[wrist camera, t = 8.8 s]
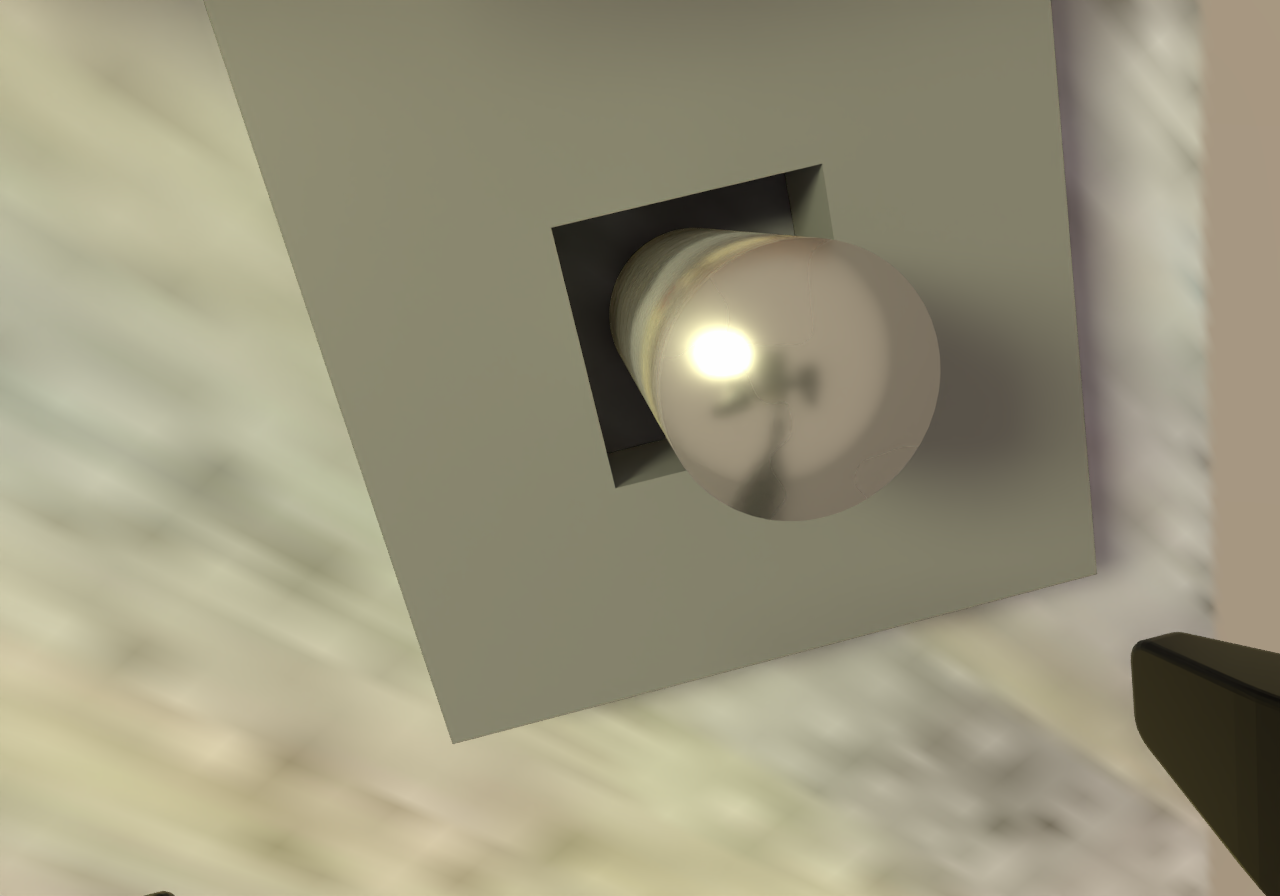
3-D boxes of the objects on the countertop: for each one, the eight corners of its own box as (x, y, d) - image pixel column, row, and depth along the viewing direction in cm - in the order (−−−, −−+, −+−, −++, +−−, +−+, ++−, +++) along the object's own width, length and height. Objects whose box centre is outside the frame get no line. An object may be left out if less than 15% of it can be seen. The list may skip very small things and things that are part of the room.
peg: (805, 335, 19) (988, 418, 11) (669, 428, 19) (757, 572, 11) (718, 192, 18) (853, 177, 10) (576, 292, 18) (602, 350, 10)
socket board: (1032, 532, 21) (1398, 768, 12) (463, 681, 20) (403, 1047, 11) (911, -646, 15) (1484, -1974, 6) (85, -489, 14) (-707, -1712, 5)
